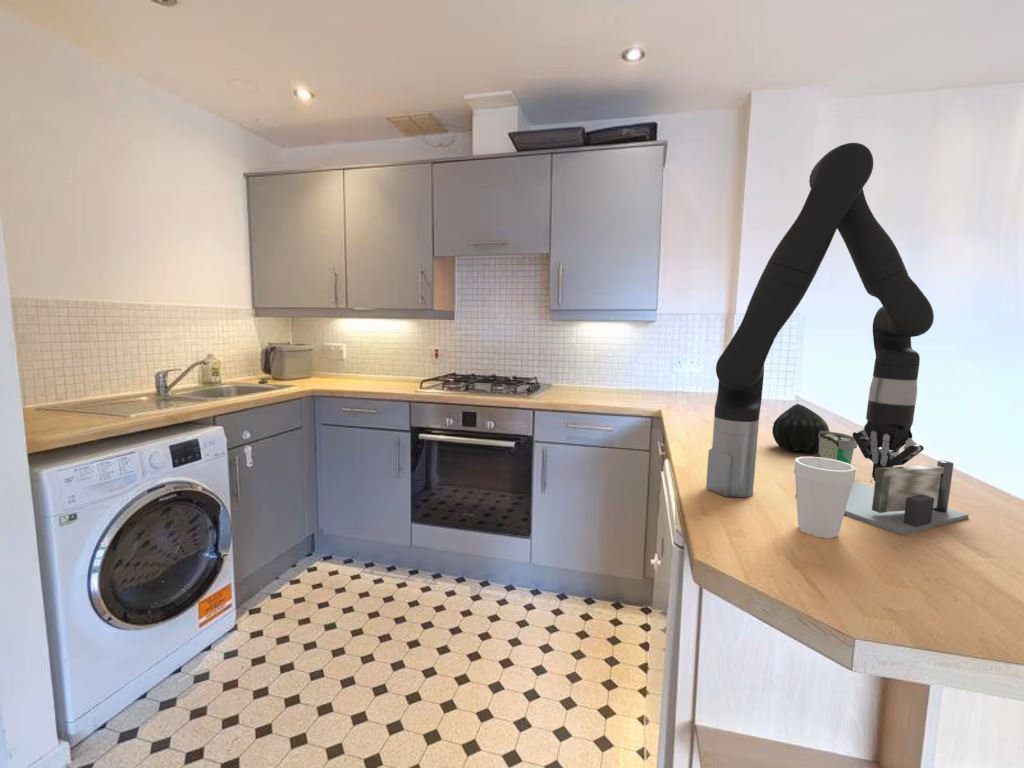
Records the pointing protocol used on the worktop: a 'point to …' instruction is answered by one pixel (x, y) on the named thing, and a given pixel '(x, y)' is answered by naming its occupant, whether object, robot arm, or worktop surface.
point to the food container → (836, 446)
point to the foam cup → (822, 494)
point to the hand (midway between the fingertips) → (880, 481)
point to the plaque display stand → (906, 507)
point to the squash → (799, 429)
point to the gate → (904, 486)
